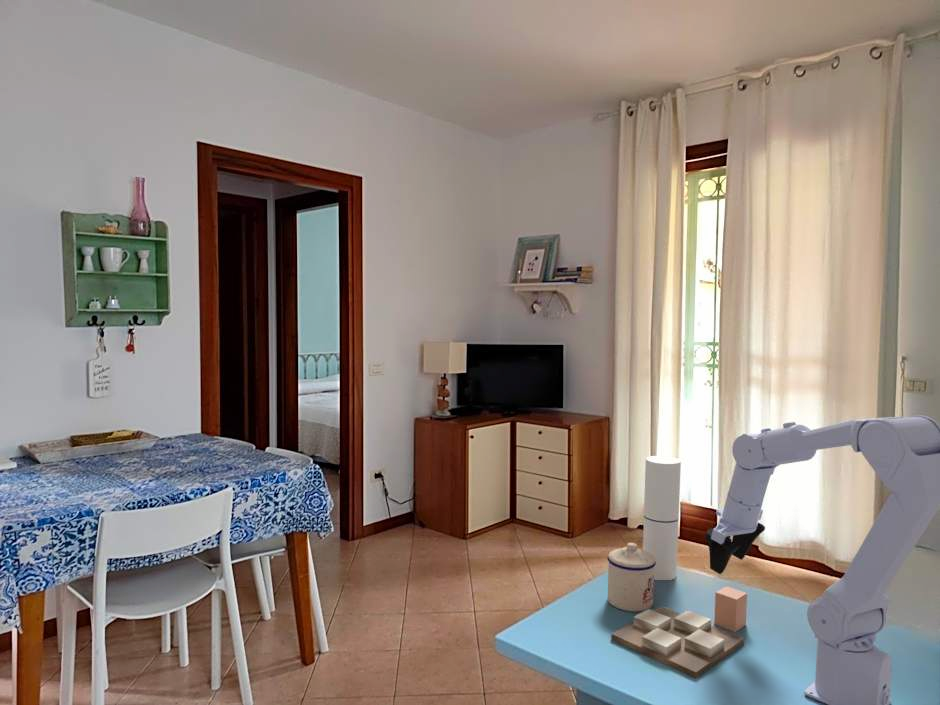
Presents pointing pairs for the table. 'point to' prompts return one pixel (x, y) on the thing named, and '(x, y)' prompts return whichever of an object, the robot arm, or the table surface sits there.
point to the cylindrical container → (662, 514)
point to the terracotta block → (730, 608)
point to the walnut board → (681, 654)
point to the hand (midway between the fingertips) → (726, 563)
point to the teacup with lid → (631, 578)
